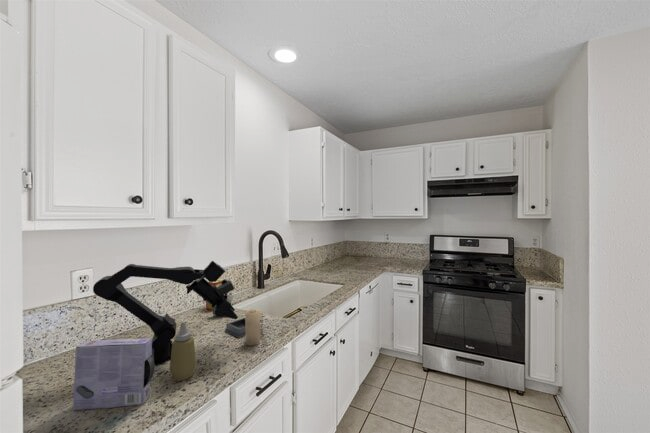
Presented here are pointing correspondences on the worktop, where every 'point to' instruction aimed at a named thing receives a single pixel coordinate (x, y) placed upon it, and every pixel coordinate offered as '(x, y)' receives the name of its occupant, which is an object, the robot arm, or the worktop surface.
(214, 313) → the food container
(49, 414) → the worktop surface
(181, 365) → the squeeze bottle
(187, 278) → the robot arm
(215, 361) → the worktop surface
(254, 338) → the beige tapered cylinder
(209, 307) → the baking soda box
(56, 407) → the worktop surface
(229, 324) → the dock
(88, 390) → the cake pan box
